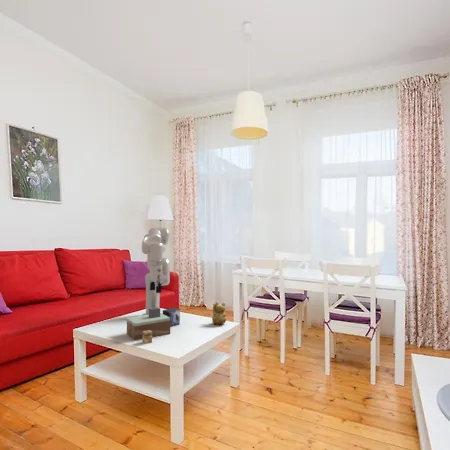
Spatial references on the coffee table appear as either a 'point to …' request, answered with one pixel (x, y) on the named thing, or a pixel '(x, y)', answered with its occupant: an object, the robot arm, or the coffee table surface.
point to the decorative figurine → (219, 313)
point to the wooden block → (147, 336)
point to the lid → (148, 318)
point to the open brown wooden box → (156, 329)
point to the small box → (173, 316)
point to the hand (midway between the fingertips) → (155, 291)
